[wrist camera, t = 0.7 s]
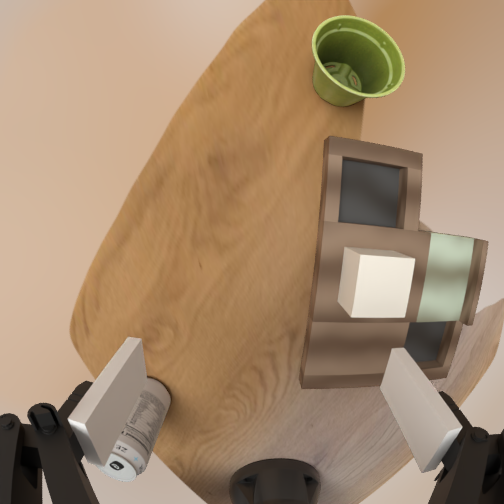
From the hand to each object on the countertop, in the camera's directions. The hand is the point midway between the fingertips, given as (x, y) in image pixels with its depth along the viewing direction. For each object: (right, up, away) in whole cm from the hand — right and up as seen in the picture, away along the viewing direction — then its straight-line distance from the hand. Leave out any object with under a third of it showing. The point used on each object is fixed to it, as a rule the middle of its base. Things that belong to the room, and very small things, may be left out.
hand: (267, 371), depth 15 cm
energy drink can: (-15, -13, +23) cm, 30 cm away
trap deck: (+17, +3, +20) cm, 26 cm away
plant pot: (+9, +26, +16) cm, 32 cm away
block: (+12, +3, +17) cm, 21 cm away
